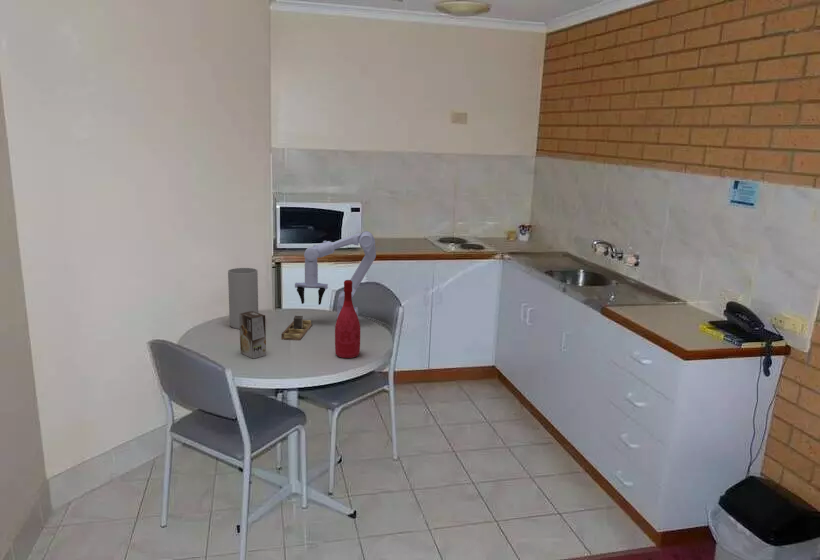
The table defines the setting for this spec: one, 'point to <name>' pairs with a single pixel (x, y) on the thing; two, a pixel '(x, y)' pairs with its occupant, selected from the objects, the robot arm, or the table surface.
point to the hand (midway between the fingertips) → (311, 303)
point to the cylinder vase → (242, 293)
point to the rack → (296, 331)
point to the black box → (298, 322)
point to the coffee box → (252, 334)
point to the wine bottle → (347, 327)
